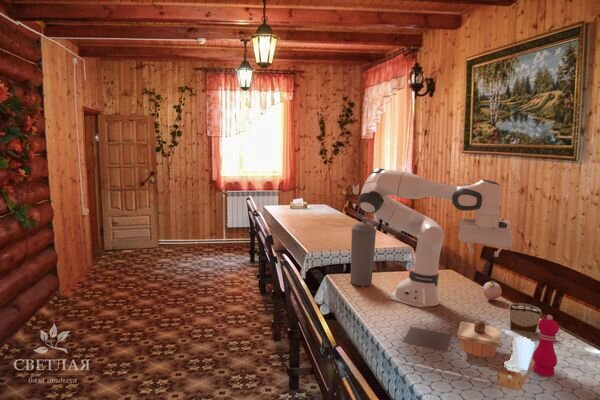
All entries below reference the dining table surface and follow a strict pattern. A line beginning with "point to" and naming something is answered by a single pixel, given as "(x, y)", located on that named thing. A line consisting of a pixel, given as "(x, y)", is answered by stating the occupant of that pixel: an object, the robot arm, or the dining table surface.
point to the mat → (428, 339)
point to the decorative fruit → (492, 290)
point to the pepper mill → (546, 347)
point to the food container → (524, 317)
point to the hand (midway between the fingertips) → (483, 254)
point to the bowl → (478, 348)
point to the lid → (479, 333)
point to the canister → (362, 253)
